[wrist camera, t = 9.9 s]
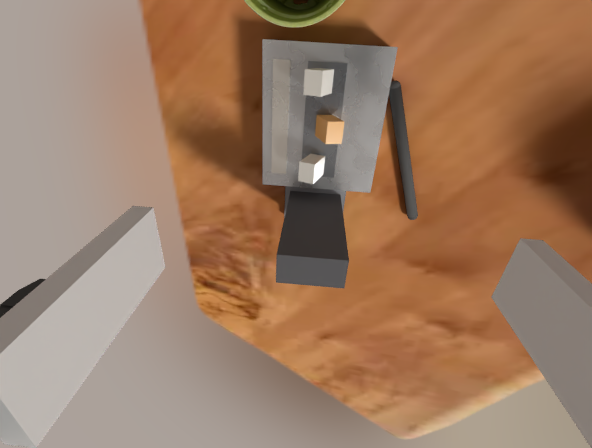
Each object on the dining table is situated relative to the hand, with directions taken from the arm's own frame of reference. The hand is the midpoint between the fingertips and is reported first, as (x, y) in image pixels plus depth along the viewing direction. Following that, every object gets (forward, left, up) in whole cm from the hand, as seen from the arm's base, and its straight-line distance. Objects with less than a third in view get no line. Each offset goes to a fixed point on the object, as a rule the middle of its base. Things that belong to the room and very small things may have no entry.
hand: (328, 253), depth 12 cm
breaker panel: (0, 0, -26) cm, 26 cm away
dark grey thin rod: (+4, +9, -26) cm, 27 cm away
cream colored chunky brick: (-4, 0, -22) cm, 23 cm away
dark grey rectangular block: (+10, 0, -26) cm, 27 cm away
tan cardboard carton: (0, 0, -22) cm, 22 cm away
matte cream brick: (+4, 0, -22) cm, 23 cm away
